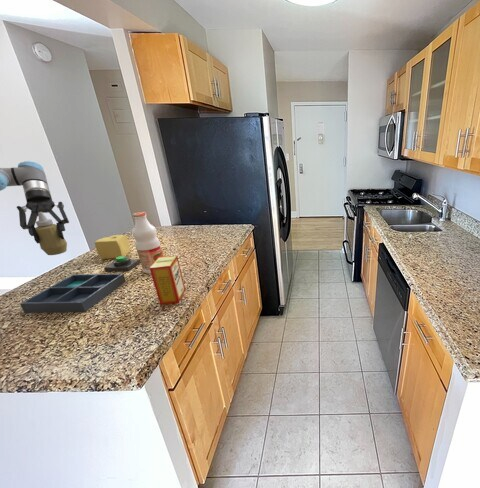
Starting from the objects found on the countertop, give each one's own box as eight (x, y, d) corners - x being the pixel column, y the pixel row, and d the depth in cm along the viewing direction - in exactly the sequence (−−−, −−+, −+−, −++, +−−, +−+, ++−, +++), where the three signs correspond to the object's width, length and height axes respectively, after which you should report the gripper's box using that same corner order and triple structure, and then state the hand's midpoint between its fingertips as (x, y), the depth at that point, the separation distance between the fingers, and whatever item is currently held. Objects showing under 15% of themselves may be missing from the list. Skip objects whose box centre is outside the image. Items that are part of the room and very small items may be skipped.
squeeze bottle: (65, 247, 116) (50, 208, 109) (73, 251, 112) (57, 211, 106) (41, 254, 110) (22, 213, 103) (47, 258, 106) (29, 215, 99)
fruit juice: (146, 267, 127) (130, 211, 117) (168, 263, 130) (154, 209, 120) (141, 275, 119) (123, 216, 108) (164, 272, 122) (148, 214, 111)
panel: (105, 271, 123) (102, 264, 121) (118, 263, 131) (116, 256, 130) (128, 271, 123) (126, 263, 121) (140, 263, 131) (138, 255, 130)
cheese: (111, 251, 144) (105, 235, 141) (132, 250, 146) (127, 233, 142) (99, 259, 135) (93, 242, 131) (122, 258, 137) (116, 240, 133)
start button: (115, 262, 124) (113, 259, 123) (120, 259, 127) (119, 255, 127) (122, 262, 124) (121, 258, 123) (127, 259, 127) (126, 255, 127)
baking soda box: (179, 302, 99) (169, 265, 93) (160, 304, 98) (149, 267, 92) (185, 289, 108) (177, 254, 102) (168, 291, 106) (158, 256, 100)
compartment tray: (24, 312, 94) (19, 303, 92) (76, 282, 114) (72, 274, 112) (85, 311, 94) (81, 302, 93) (126, 281, 114) (123, 273, 113)
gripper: (70, 196, 120) (83, 238, 115) (7, 202, 108) (18, 249, 103) (66, 186, 114) (79, 229, 109) (-1, 191, 102) (10, 241, 97)
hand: (49, 239), depth 106 cm, fingers closed on squeeze bottle, 6 cm apart
